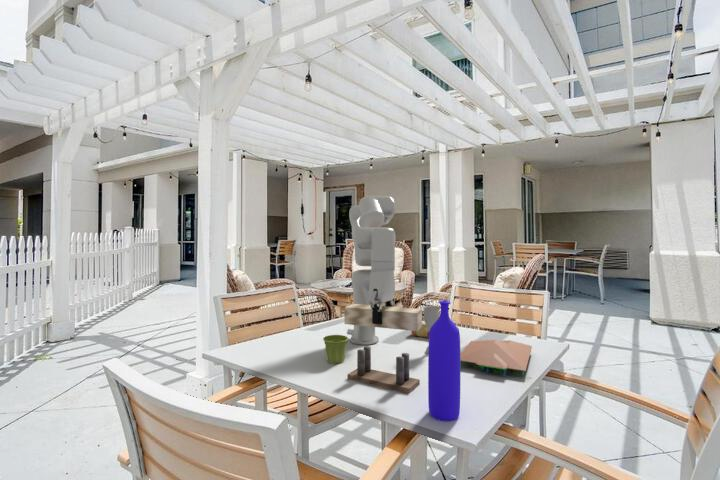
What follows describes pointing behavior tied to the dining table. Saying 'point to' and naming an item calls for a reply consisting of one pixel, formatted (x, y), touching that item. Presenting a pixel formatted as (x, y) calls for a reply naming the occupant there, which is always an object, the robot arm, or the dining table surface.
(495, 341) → the house
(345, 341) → the plant pot
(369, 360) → the peg stand
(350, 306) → the shelf board
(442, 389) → the bottle
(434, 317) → the chalice
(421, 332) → the snack package
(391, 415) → the dining table surface
